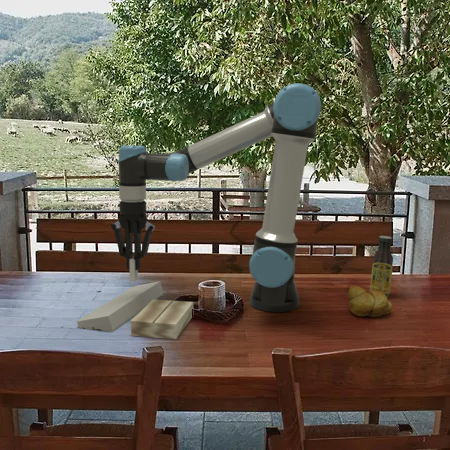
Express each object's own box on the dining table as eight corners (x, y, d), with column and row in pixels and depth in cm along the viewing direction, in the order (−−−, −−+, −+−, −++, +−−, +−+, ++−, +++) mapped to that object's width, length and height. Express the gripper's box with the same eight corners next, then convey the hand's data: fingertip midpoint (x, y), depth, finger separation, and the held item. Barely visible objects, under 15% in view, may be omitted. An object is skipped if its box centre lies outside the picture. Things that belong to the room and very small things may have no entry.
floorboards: (193, 315, 147) (193, 301, 146) (176, 339, 130) (175, 323, 129) (153, 312, 149) (153, 298, 148) (131, 335, 132) (130, 319, 131)
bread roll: (388, 309, 154) (390, 283, 153) (396, 320, 144) (398, 293, 143) (345, 308, 155) (346, 282, 154) (350, 319, 146) (352, 292, 144)
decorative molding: (81, 338, 137) (113, 333, 134) (76, 321, 137) (108, 315, 134) (137, 300, 169) (164, 295, 166) (133, 286, 169) (160, 281, 166)
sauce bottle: (368, 298, 164) (372, 237, 161) (370, 292, 170) (374, 234, 167) (389, 300, 162) (393, 239, 159) (391, 295, 168) (395, 235, 164)
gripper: (158, 199, 148) (159, 278, 152) (116, 197, 150) (117, 275, 154) (150, 202, 141) (151, 285, 145) (105, 200, 143) (107, 282, 147)
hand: (133, 280), depth 150 cm, fingers closed
